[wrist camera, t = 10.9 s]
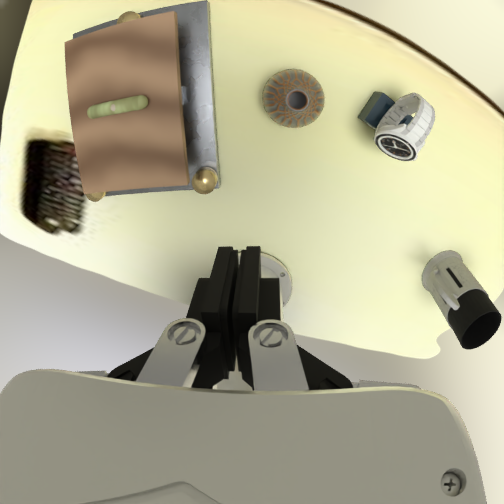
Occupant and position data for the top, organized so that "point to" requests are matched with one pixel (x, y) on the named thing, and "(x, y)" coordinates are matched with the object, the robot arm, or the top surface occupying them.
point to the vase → (293, 98)
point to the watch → (399, 124)
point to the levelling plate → (135, 130)
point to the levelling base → (187, 96)
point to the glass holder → (461, 299)
